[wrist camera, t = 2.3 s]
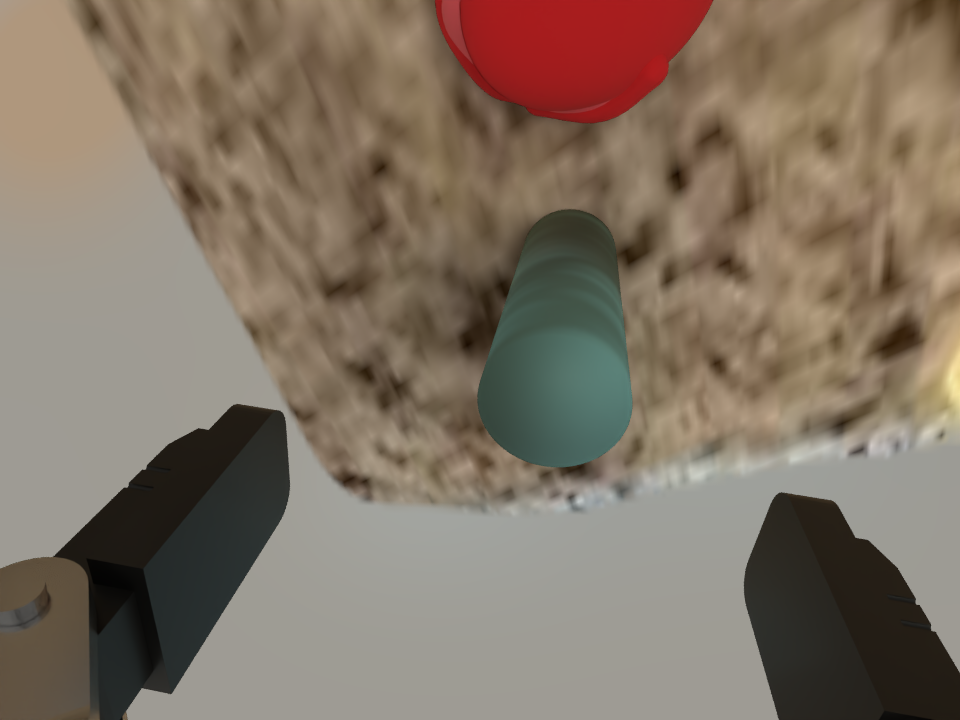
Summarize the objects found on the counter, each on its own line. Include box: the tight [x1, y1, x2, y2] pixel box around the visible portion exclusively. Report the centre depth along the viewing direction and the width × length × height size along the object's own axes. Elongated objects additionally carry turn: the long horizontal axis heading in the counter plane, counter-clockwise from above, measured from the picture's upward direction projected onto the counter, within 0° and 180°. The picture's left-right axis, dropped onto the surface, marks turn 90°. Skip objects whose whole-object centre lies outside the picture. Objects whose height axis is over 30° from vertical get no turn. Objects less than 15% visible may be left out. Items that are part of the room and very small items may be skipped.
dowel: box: [478, 209, 632, 467], centre depth 17 cm, size 3×3×10 cm
